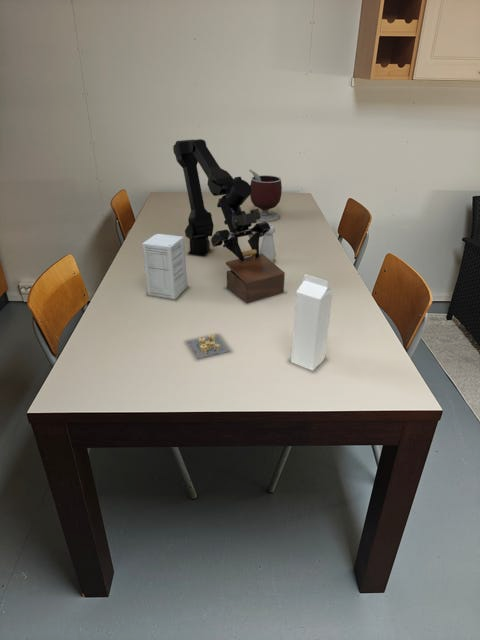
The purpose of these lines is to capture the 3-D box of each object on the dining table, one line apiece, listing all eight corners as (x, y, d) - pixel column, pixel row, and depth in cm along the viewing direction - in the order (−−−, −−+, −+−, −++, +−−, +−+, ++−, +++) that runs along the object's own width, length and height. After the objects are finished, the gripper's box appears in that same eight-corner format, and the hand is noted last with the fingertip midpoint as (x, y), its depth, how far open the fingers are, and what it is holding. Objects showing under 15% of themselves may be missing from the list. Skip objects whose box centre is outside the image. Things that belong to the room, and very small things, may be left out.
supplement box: (188, 287, 144) (185, 236, 136) (175, 300, 137) (171, 247, 128) (161, 282, 147) (156, 232, 139) (146, 295, 139) (141, 242, 131)
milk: (303, 351, 114) (310, 269, 103) (324, 359, 111) (335, 276, 100) (290, 362, 110) (297, 278, 99) (312, 371, 107) (322, 285, 96)
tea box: (226, 288, 144) (226, 270, 141) (262, 279, 150) (262, 262, 147) (246, 303, 135) (246, 285, 132) (283, 292, 142) (284, 274, 139)
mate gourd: (285, 216, 209) (288, 170, 199) (270, 224, 199) (272, 177, 189) (256, 210, 216) (257, 166, 206) (240, 217, 206) (241, 172, 196)
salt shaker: (274, 265, 160) (276, 229, 154) (258, 263, 161) (259, 228, 155) (276, 258, 165) (278, 223, 159) (260, 257, 166) (261, 222, 160)
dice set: (201, 354, 112) (201, 348, 111) (195, 344, 116) (194, 337, 115) (221, 350, 114) (221, 343, 113) (213, 340, 118) (213, 333, 117)
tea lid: (225, 263, 140) (226, 252, 138) (261, 255, 147) (263, 243, 144) (246, 284, 132) (248, 272, 130) (284, 274, 139) (286, 263, 136)
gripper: (215, 205, 131) (234, 255, 129) (269, 196, 139) (288, 242, 137) (202, 222, 140) (220, 269, 138) (253, 213, 149) (271, 257, 147)
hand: (250, 259), depth 140 cm, fingers closed on tea lid, 5 cm apart
